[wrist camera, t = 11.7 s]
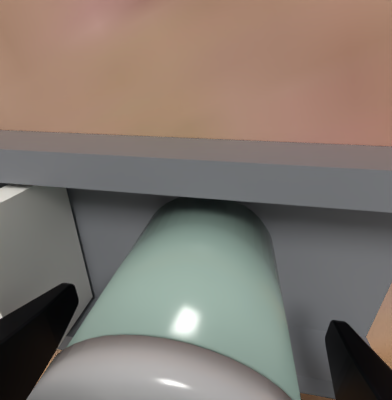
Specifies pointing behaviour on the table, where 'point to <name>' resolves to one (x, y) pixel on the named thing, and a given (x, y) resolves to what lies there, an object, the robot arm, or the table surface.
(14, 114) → the table surface
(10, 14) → the table surface
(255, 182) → the pusher lane
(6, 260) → the plate
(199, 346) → the jar
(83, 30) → the table surface
